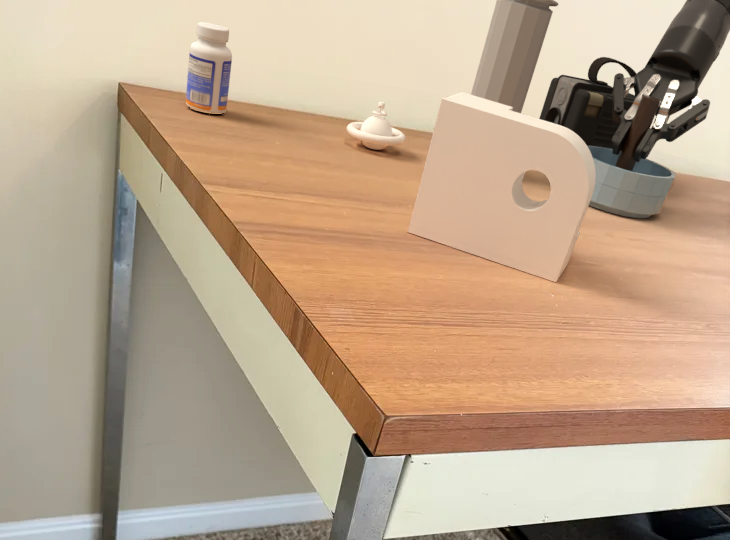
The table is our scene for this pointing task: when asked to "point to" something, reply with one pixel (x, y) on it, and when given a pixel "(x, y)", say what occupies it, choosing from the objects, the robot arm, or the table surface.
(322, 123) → the table surface
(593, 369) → the table surface
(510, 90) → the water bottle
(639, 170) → the bowl
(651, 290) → the table surface
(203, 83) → the pill bottle
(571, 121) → the camera
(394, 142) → the ring around a ball
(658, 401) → the table surface
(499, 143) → the white holed block
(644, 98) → the stirring stick
